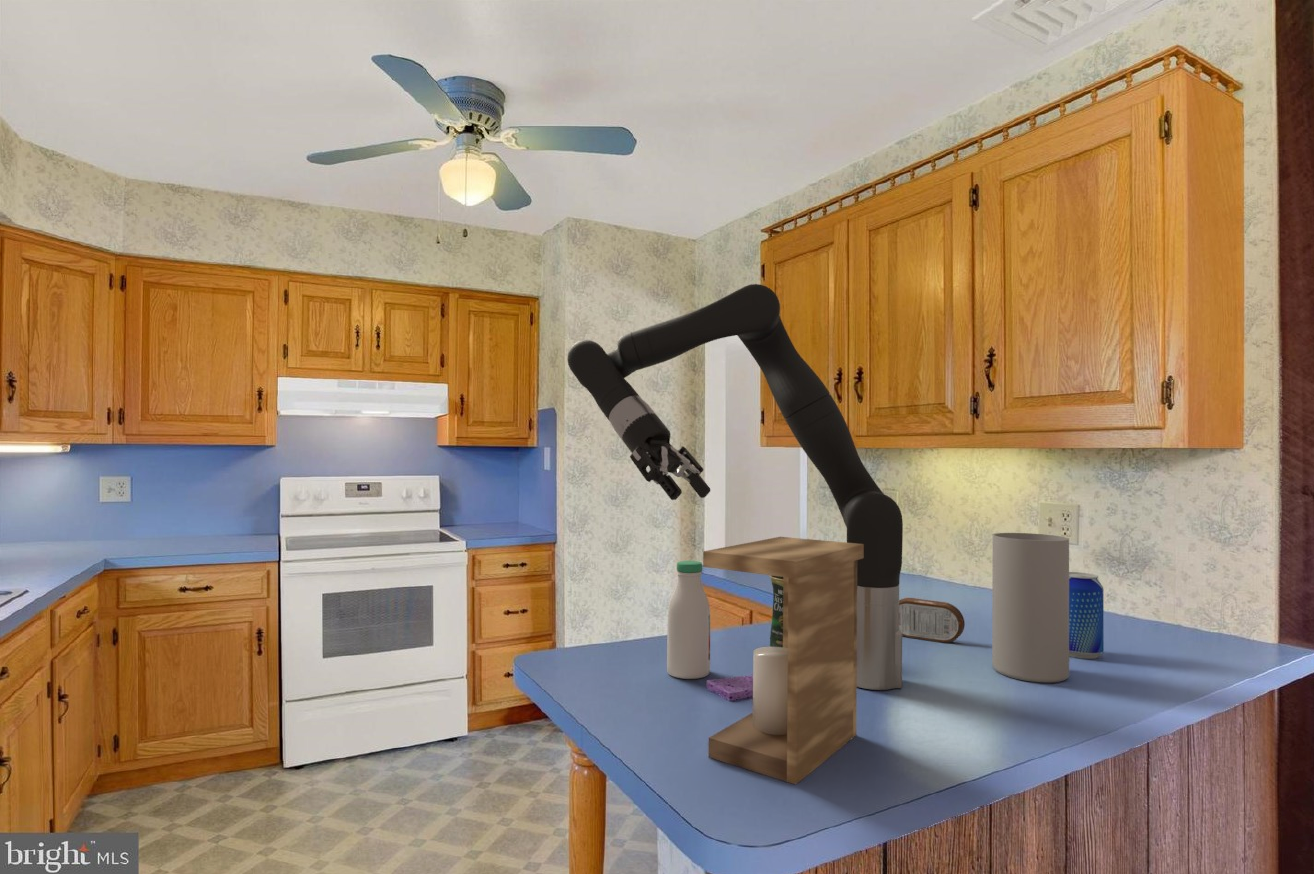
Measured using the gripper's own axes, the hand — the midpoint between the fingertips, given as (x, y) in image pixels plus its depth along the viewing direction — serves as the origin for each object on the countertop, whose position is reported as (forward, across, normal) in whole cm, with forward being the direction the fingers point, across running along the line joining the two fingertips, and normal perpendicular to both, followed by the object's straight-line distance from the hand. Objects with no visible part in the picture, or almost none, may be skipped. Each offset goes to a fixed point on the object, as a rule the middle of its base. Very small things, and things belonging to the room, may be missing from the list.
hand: (692, 495), depth 119 cm
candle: (+36, -10, +7) cm, 38 cm away
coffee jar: (+25, +33, +22) cm, 47 cm away
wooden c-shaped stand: (+39, -10, +7) cm, 41 cm away
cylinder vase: (+53, +48, -7) cm, 72 cm away
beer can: (+57, +69, -11) cm, 90 cm away
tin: (+38, +61, +9) cm, 72 cm away
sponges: (+28, +8, +19) cm, 35 cm away
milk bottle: (+19, +9, +28) cm, 35 cm away
